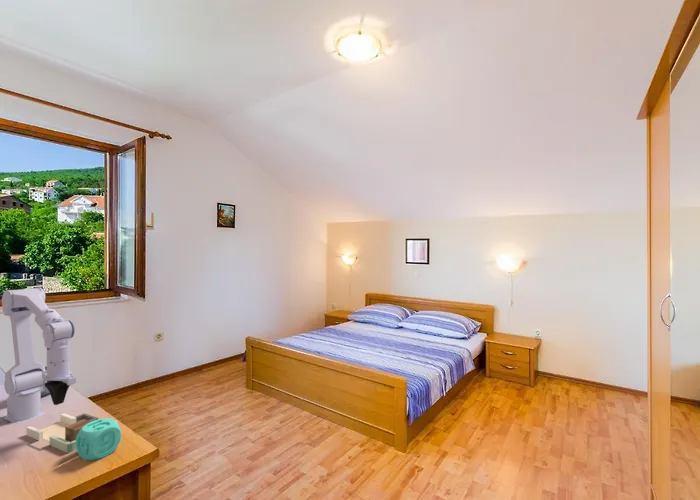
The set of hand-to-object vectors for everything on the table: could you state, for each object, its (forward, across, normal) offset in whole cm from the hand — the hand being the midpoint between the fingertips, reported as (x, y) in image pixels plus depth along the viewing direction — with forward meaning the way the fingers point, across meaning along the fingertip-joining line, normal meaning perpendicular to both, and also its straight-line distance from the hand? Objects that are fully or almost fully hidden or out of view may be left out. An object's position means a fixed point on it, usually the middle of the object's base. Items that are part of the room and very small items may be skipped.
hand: (58, 403), depth 109 cm
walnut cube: (+9, +11, 0) cm, 14 cm away
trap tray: (+10, +4, 0) cm, 10 cm away
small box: (+10, -38, +11) cm, 41 cm away
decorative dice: (+10, +21, 0) cm, 23 cm away
